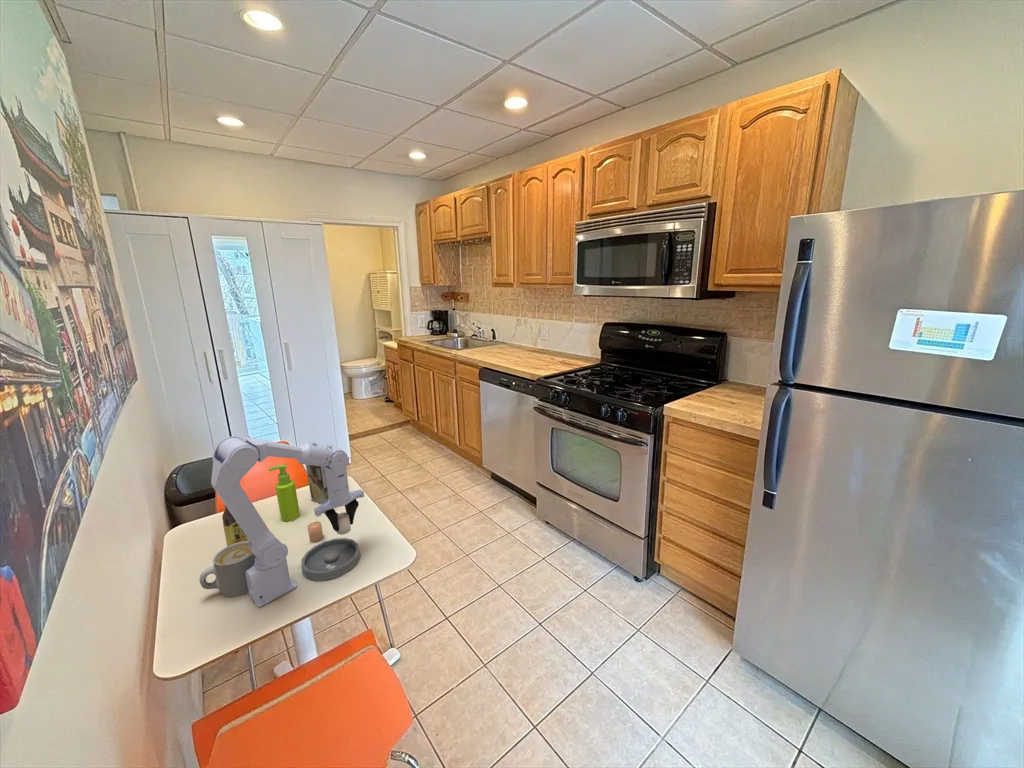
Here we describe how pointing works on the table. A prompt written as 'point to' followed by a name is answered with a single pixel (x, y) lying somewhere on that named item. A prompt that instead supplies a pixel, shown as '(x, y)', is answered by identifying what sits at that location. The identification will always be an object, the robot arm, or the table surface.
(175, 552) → the table surface
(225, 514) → the sauce bottle
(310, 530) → the terracotta bead
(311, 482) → the coffee box
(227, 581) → the coffee mug
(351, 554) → the groove tray
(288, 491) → the soap dispenser
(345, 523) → the cream bead
